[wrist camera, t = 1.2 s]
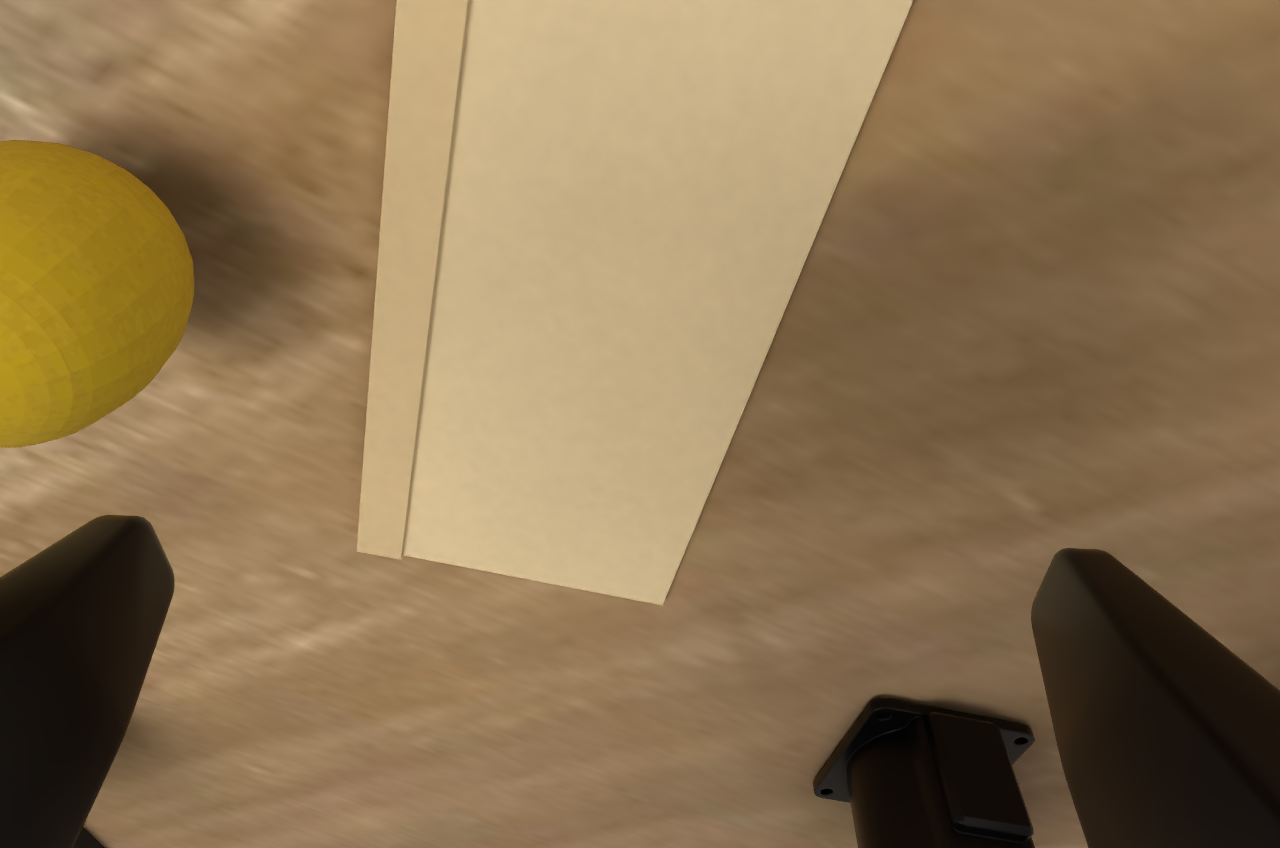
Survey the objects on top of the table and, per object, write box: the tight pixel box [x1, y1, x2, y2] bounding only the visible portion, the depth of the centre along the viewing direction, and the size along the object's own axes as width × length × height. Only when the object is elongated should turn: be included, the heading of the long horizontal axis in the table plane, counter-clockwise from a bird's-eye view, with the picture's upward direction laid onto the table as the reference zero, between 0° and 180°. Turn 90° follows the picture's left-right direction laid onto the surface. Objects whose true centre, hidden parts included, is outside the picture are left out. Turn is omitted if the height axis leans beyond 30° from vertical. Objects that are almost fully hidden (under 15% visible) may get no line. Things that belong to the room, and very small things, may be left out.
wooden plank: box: [357, 0, 913, 605], centre depth 21 cm, size 22×10×1 cm, turn 166°
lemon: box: [0, 140, 194, 448], centre depth 17 cm, size 6×6×8 cm
